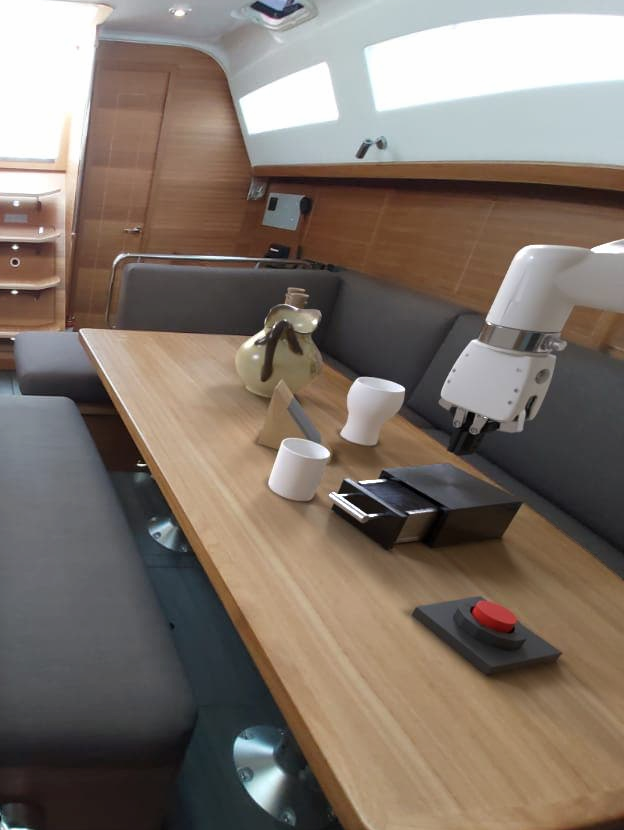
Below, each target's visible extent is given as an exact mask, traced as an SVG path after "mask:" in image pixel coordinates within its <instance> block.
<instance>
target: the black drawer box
mask: <svg viewBox="0 0 624 830" xmlns="http://www.w3.org/2000/svg"><path fill="white" fill-rule="evenodd" d="M389 478H390V479H392V480H393V481H395V482H397V483H398V484H400V485H402V486H404V487H405V488H407V489H409V490H410V491H412V492H414V493H415V494H417V495H419V496H421V497H422V498H424V499H426V500H427V501H429V502H431V503H432V504H434V505H436V506H438V507H439V508H441V509H443V510H444V513H443V515H442V516H441V518H440V520H439V522H438V524H437V526H436V528H435V530H434V531H433V533H432V535H431V537H430V539H424V540H419V541H420V542H421V543H422V544H424V545H425V546H427V547H429V548H430V549H436V548H443V547H450V546H457V545H464V544H472V543H480V542H487V541H494V540H501V539H502V537H504V534H505V533H506V531H507V530H508V528H509V527H510V525H511V523H512V522H513V521H514V518H515V516H516V515H517V514H518V512H519V510H520V508H521V507H522V505H523V504H524V502H525V500H523V499H521V498H519V497H517V496H516V495H513V494H511V493H509V492H507V491H505V490H503V489H501V488H499V487H497V486H496V485H493V484H492V483H489V482H487V481H486V480H483V479H481V478H479V477H478V476H475V475H473V474H472V473H470V472H468V471H465V470H464V469H462V468H459V467H457V466H455V465H454V464H451V463H449V462H445V463H433V464H423V465H411V466H402V467H391V468H390V467H389V468H382V469H381V472H380V473H379V476H378V478H377V480H379V479H389Z"/></svg>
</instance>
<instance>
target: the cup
mask: <svg viewBox="0 0 624 830" xmlns="http://www.w3.org/2000/svg"><path fill="white" fill-rule="evenodd" d="M405 393H406V388H405V387H404V386H403V385H401V384H398V383H397V382H393V381H391V380H388V379H384V378H379V377H369V376H360V377H357V378H356V379H355V380H354V382H353V384H352V385H351V386H350V388H349V391H348V393H347V396H346V407H347V412H348V416H347V420H346V423H345V424H344V427H343V428H342V430H341V431H340V432H339V433H340V436H341V437H342V438H343V439H344V440H346V441H348V442H351V443H354V444H358V445H361V446H376V445H377V444H378V441H379V435H380V432H381V430H382V428H383V427H384V425H385V424H386V423H387V422H388V421H389V420H391V419H392V418H393V417H395V415H396V414H398V412H399V411H400V410H401V408H402V406H403V404H404V401H405Z"/></svg>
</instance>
